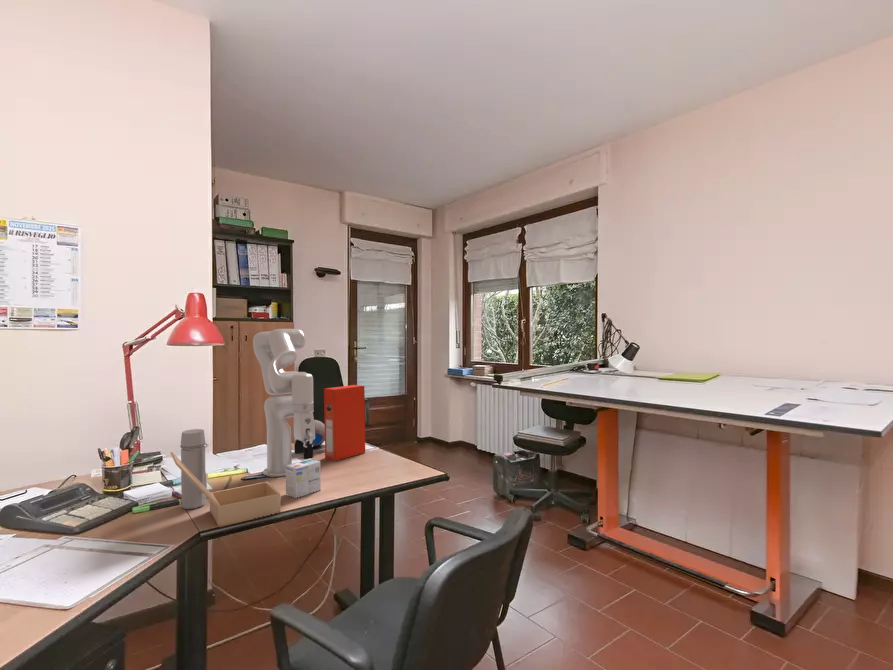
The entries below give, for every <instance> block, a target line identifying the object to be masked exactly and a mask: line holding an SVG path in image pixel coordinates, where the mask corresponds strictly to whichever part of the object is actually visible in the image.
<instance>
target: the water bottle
mask: <svg viewBox="0 0 893 670" xmlns="http://www.w3.org/2000/svg"><path fill="white" fill-rule="evenodd" d="M205 438H206V435H205V430H204V429H202V428H201V429H200V428H199V429H197V428H195V429H194V428H193V429H188V430H184V431H181V438H180V461H181V462H182V463H183V464H184V465H185V466H186V467H187V468H188V469H189V470H190V472H191V473H192V474H193V475H194V476H195V477H196V478H197V479H198V480H199V481H200V482H201V483H202V484H203V485H204V486H205V487H206V489H207V490H208V483H207V475H206V474H207V472H206V448H208V446H209V445H208V444H207V443H206V439H205ZM205 445H206V446H205ZM180 478H181V479H180V480H181V482H180V484H181V485H180V486H181V487H180V488H181V491H180V492H181V507H182V508H183V509H185V510H193V509H194V510H195V509H198V507H199V508H201V507H203V506H204V505H206V502H207V500H206V499H207V497H206V496H205V495H204V494H203V493H202V491H201V490H200V489H199V488H198V487H197V486H196V485H195V484H194V483H193V482H192V481H191V480H190V479H189V478H188V477H187V476H186V475H185V474H184V472H183V471H182V470H181V469H180Z"/></svg>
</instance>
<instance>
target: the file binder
mask: <svg viewBox="0 0 893 670" xmlns="http://www.w3.org/2000/svg"><path fill="white" fill-rule="evenodd" d="M365 393H366V392H365V385H360V384H359V385H358V384H350V385H344V386H343V385H342V386H335V387H327V388H325V387H324V388H323V399H324V400H323V404H324V406H323V408H324V410H323V412H324V425H325V441H324V445H325V452H324V458H325V459H326V460H329V461H334V462H335V461H336V462H337V461H339V460H343V459H347V458H350V457H355V456H357V455H361V454H365V453H366V415H365V414H366V410H365V409H366V404H365V402H366V400H365Z"/></svg>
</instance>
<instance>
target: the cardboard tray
mask: <svg viewBox="0 0 893 670" xmlns="http://www.w3.org/2000/svg"><path fill="white" fill-rule="evenodd" d="M210 493H211V495H212V497H213V498H214V500H215V502H216V503H217V505H218V507H216V506H215V505H214V504H213V503H212V502H211V501H210V500H209V513H210V512H211V513H210V514H211V516H212V518H213V520H214V522H215V524H216V525H217V527H218V528H222V527H226V526H230V525H233V524H239V523H242V522H247V521H250V520H255V519H254V518H256V519H258V518H257V517H260V518H262V517H261V516H264V517H267V516H266V515H268V516H270V515H269V514H272V515H274V514H273V513H277V514H279V513H278V512H280V513H281V499H282V497H281V493H280V492H279V491H278V490H277V489H276V488H275V487H274V486H273V485H272V484H271V483H270V482H269V481H264V482H258V483H253V484H247V485H243V486H239V487H232V488H228V489H222V490H217V491H212V492H210Z"/></svg>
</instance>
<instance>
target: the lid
mask: <svg viewBox="0 0 893 670" xmlns="http://www.w3.org/2000/svg"><path fill="white" fill-rule="evenodd" d="M170 456H171V458H172V460H173V462H174V464H175V465H176V467H178V469H179V470H180V471H181V470H182V471H183V472H184V474H185V475H186V476H187V477H188V478H189V479H190V480H191V481H192V482H193V483H194V484H195V485H196V486H197V487H198V488H199V489H200V490H201V491H202V493H203V494H204V495H205V496H206V499H208V500H209V502H210V501H211V502H212V503H213V504H214V505H215V506H216V507H218V505H217V503H216V502H215V500H214V498H213V497H212V495H211V492H210V491H209V490H208V488H207V489H206V487H205V486H204V485H203V484H202V483H201V482H200V481H199V480H198V479H197V478H196V477H195V476H194V475H193V474H192V473H191V472H190V470H189V469H188V468H187V467H186V466H185V465H184V464H183V463H182V462H181V459H180V458H178V456H176V454H175V453H174V452H173V451H171V452H170Z"/></svg>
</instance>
